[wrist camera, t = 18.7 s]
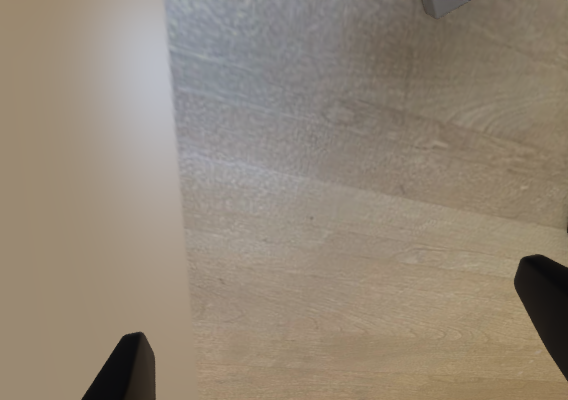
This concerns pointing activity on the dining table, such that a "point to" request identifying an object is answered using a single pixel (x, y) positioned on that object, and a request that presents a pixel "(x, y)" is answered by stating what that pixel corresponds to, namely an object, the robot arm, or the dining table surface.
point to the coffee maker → (441, 7)
